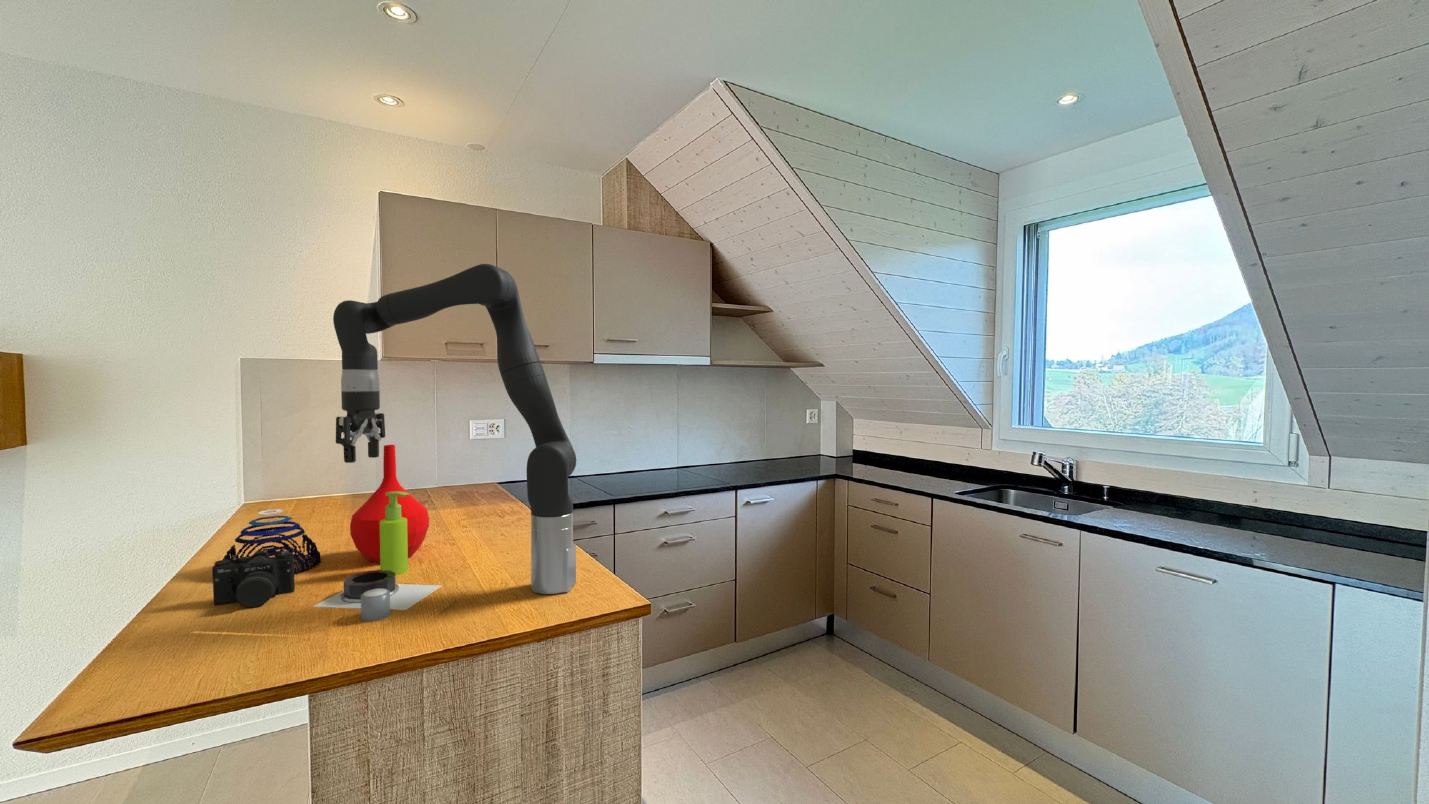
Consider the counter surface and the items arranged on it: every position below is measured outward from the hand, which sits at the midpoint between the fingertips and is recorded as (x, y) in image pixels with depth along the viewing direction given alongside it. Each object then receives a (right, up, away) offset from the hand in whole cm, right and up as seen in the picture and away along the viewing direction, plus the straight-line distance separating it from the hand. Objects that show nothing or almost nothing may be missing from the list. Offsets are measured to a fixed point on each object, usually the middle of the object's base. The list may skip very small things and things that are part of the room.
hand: (362, 459), depth 135 cm
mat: (+9, -29, -8) cm, 31 cm away
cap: (+14, -30, -19) cm, 38 cm away
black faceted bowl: (+6, -29, -6) cm, 30 cm away
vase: (-4, -28, +20) cm, 35 cm away
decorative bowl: (-29, -29, +11) cm, 42 cm away
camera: (-17, -29, -11) cm, 36 cm away
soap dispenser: (+4, -29, +8) cm, 30 cm away
